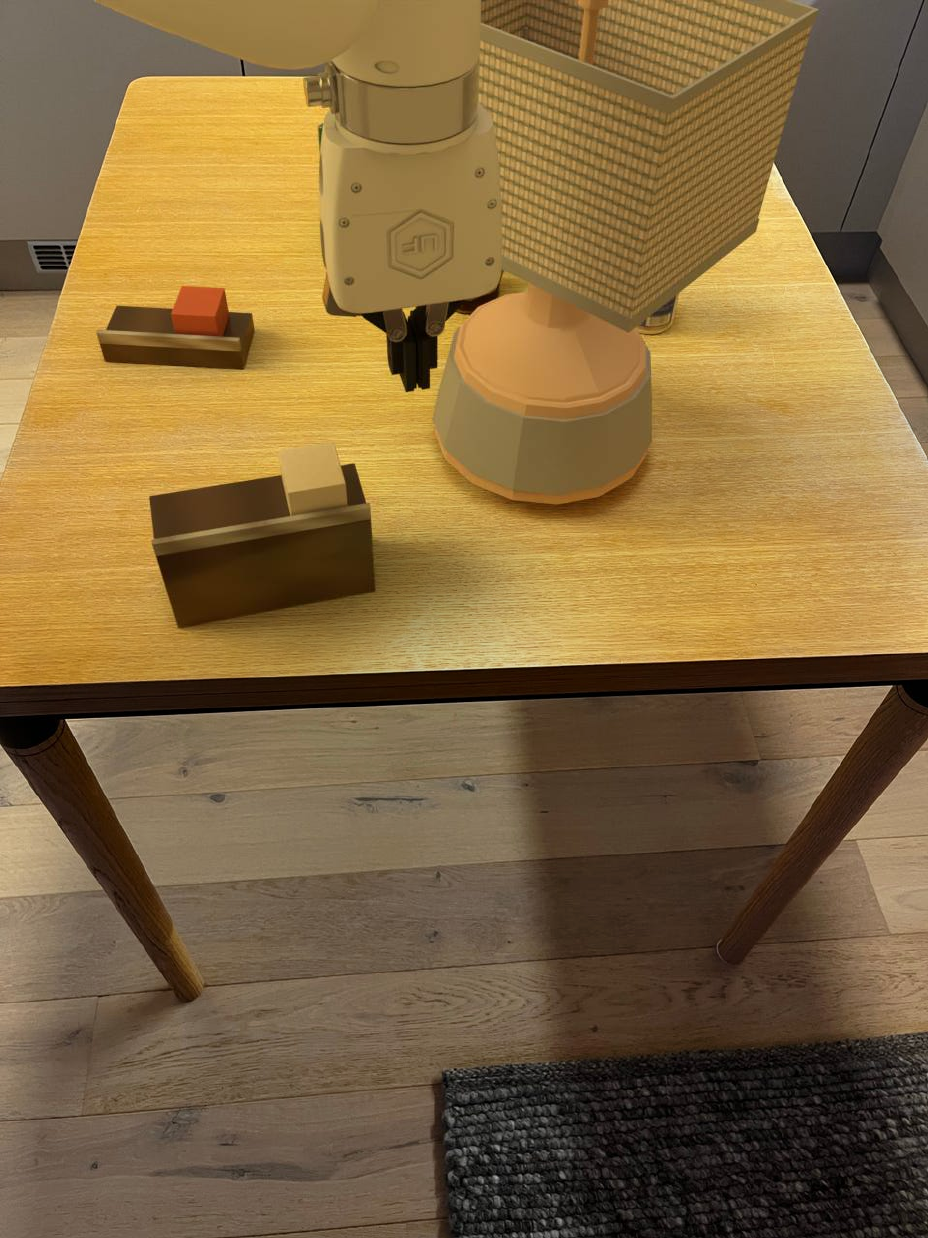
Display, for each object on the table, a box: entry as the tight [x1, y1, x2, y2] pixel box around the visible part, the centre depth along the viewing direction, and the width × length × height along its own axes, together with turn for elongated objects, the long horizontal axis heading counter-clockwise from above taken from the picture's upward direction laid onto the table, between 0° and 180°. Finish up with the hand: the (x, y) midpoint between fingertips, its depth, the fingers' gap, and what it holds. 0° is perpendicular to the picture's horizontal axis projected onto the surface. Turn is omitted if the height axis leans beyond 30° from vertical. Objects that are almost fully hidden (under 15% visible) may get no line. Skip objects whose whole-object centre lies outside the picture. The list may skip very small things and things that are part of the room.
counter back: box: [95, 305, 256, 370], centre depth 94 cm, size 13×6×3 cm, turn 87°
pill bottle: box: [636, 293, 680, 335], centre depth 97 cm, size 5×5×9 cm
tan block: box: [277, 441, 348, 516], centre depth 71 cm, size 4×4×3 cm
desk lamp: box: [432, 0, 819, 505], centre depth 74 cm, size 22×19×37 cm
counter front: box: [148, 462, 376, 628], centre depth 74 cm, size 15×6×9 cm, turn 105°
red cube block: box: [171, 285, 230, 337], centre depth 93 cm, size 4×4×3 cm
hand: (412, 376), depth 66 cm, fingers closed
